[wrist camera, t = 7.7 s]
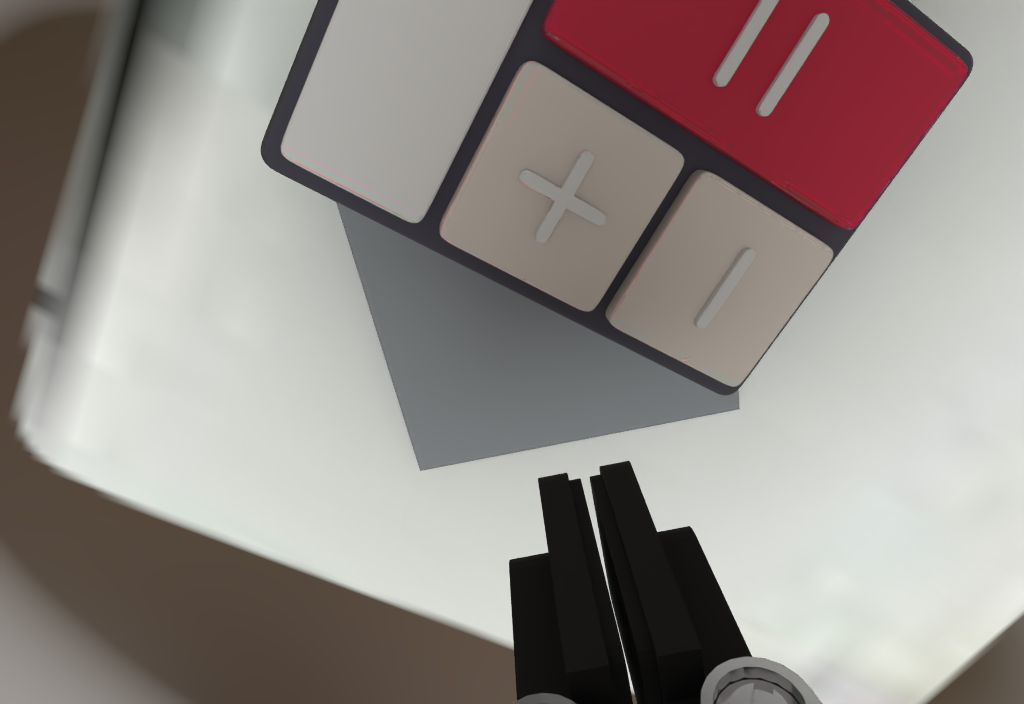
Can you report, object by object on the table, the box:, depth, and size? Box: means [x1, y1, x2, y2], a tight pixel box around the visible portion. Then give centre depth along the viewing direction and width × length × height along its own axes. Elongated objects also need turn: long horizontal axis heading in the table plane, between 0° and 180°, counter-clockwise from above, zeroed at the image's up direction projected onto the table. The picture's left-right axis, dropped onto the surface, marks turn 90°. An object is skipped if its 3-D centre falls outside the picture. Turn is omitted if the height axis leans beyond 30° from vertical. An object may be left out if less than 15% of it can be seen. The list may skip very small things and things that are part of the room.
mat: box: [336, 202, 739, 471], centre depth 21 cm, size 12×11×1 cm
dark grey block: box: [261, 0, 973, 395], centre depth 17 cm, size 11×4×15 cm
